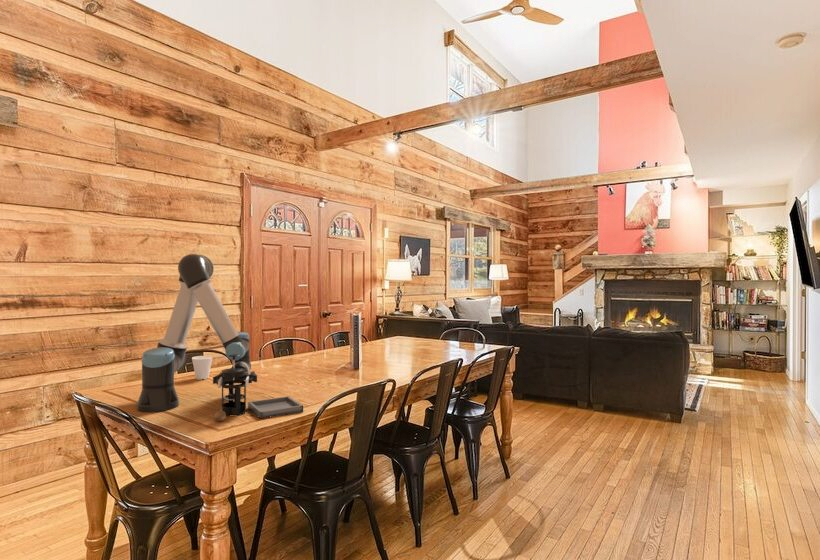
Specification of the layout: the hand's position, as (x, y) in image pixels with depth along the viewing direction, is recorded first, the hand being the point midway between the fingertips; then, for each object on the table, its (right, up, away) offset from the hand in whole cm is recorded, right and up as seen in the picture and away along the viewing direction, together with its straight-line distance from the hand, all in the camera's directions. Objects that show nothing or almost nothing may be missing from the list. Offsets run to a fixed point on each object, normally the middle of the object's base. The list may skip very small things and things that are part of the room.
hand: (232, 383), depth 184 cm
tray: (+14, -13, +9) cm, 21 cm away
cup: (-39, -11, +63) cm, 75 cm away
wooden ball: (-3, -13, -6) cm, 14 cm away
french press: (-1, -13, +5) cm, 13 cm away
